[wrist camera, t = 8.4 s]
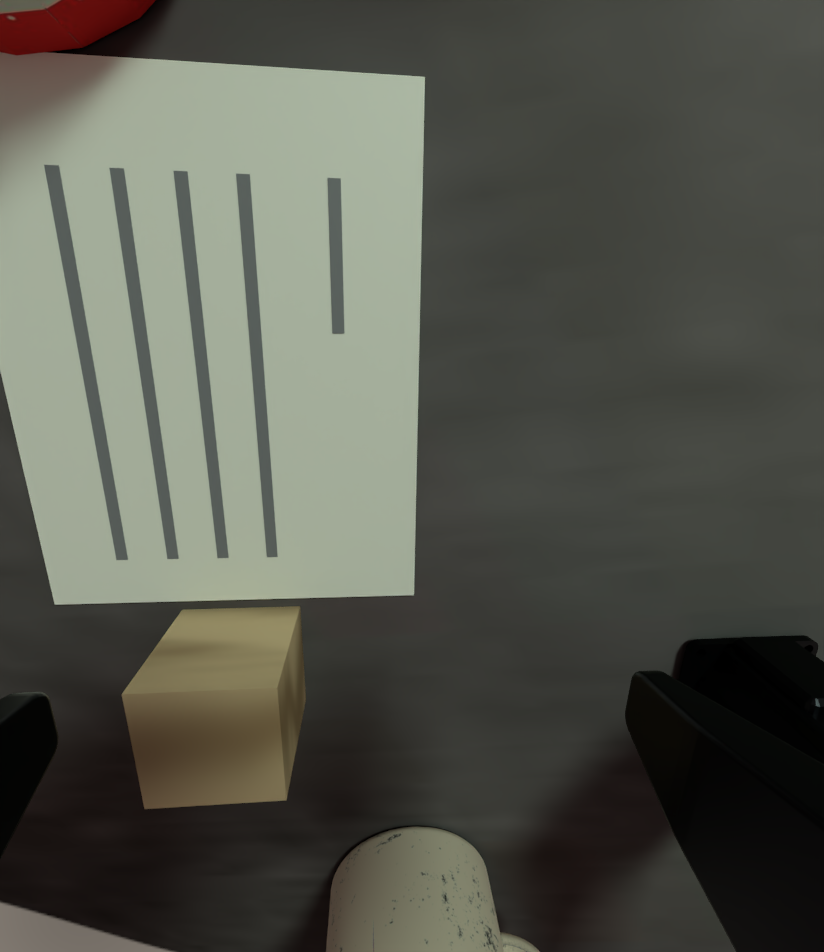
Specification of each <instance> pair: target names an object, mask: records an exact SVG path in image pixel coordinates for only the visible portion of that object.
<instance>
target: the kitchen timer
mask: <svg viewBox="0 0 824 952" xmlns="http://www.w3.org/2000/svg"><path fill="white" fill-rule="evenodd" d="M154 2H155V0H0V52H2V53H7V54H12V55H25V54H34V53H42V52H51V51H59V50H68V49H76V48H83V47H85V46H87V45H89V44H91V43H93V42H95V41H97V40H99V39H100V38H102V37H104V36H106V35H108V34H110V33H112V32H114V31H116V30H118V29H120V28H122V27H123V26H125V25H127V24H129V23H131V22H133V21H135V20H137V19H139V18H140V17H141V16H142V15H143V14H144V13H145V12H146V11H147V9H148V8H149V7H150V6H151V5H152V4H153V3H154Z"/></svg>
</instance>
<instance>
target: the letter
mask: <svg viewBox="0 0 824 952" xmlns="http://www.w3.org/2000/svg"><path fill="white" fill-rule="evenodd" d="M424 92H425V77H418V76H403V75H388V74H372V73H357V72H341V71H326V70H310V69H295V68H279V67H264V66H249V65H233V64H218V63H202V62H187V61H171V60H156V59H141V58H125V57H110V56H94V55H79V54H63V53H48V52H42V53H34V54H25V55H12V54H7V53H2V52H0V371H1V376H2V380H3V384H4V388H5V393H6V397H7V401H8V406H9V410H10V414H11V419H12V423H13V427H14V431H15V436H16V440H17V444H18V449H19V453H20V457H21V461H22V466H23V470H24V474H25V479H26V483H27V487H28V492H29V496H30V500H31V504H32V509H33V513H34V517H35V522H36V526H37V530H38V534H39V539H40V543H41V547H42V552H43V556H44V560H45V565H46V569H47V573H48V577H49V582H50V586H51V590H52V595H53V599H54V603H55V605H62V604H100V603H138V602H176V601H214V600H252V599H290V598H328V597H366V596H404V595H414V568H415V521H416V473H417V426H418V378H419V330H420V283H421V235H422V187H423V140H424Z"/></svg>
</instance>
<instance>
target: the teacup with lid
mask: <svg viewBox="0 0 824 952" xmlns="http://www.w3.org/2000/svg"><path fill="white" fill-rule="evenodd" d="M326 952H540V951H539V950H538V949H537V948H536V947H535V946H533V945H532V944H531V943H529V942H528V941H526V940H525V939H523V938H521V937H518V936H515V935H512V934H508V933H502V932H500V930H499V926H498V921H497V916H496V911H495V907H494V902H493V897H492V893H491V888H490V883H489V878H488V874H487V869H486V866H485V864H484V861H483V859H482V858H481V856H480V854H479V853H478V852H477V850H476V849H475V848H474V847H473V846H472V845H471V844H470V843H468V842H467V841H466V840H465V839H463V838H461V837H460V836H458V835H456V834H454V833H451V832H449V831H446V830H442V829H438V828H432V827H421V826H416V827H403V828H397V829H393V830H389V831H386V832H383V833H380V834H378V835H375V836H373V837H371V838H369V839H367V840H366V841H364V842H362V843H361V844H360V845H358V846H357V847H356V848H354V849H353V850H352V851H351V852H350V853H349V854H348V855H347V856H346V857H345V859H344V860H343V861H342V862H341V864H340V865H339V867H338V869H337V871H336V873H335V875H334V878H333V881H332V887H331V895H330V908H329V920H328V933H327V945H326Z"/></svg>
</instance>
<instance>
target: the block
mask: <svg viewBox="0 0 824 952" xmlns="http://www.w3.org/2000/svg"><path fill="white" fill-rule="evenodd" d="M122 699H123V704H124V709H125V714H126V719H127V724H128V729H129V734H130V739H131V744H132V749H133V754H134V759H135V764H136V769H137V774H138V779H139V784H140V789H141V794H142V799H143V804H144V809H155V808H171V807H187V806H203V805H219V804H235V803H251V802H267V801H283V800H287V795H288V789H289V784H290V779H291V774H292V769H293V763H294V758H295V753H296V748H297V743H298V738H299V732H300V727H301V722H302V717H303V712H304V706H305V701H306V695H305V678H304V662H303V645H302V629H301V612H300V606H297V607H262V608H227V609H192V610H182V611H181V612H180V614H179V615H178V617H177V618H176V619H175V621H174V622H173V623H172V625H171V626H170V628H169V629H168V630H167V632H166V633H165V635H164V636H163V637H162V639H161V640H160V642H159V643H158V644H157V646H156V647H155V649H154V650H153V651H152V653H151V654H150V656H149V657H148V658H147V660H146V661H145V663H144V664H143V665H142V667H141V668H140V669H139V671H138V672H137V674H136V675H135V676H134V678H133V679H132V681H131V682H130V683H129V685H128V686H127V688H126V689H125V690H124V692H123V693H122Z"/></svg>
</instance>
